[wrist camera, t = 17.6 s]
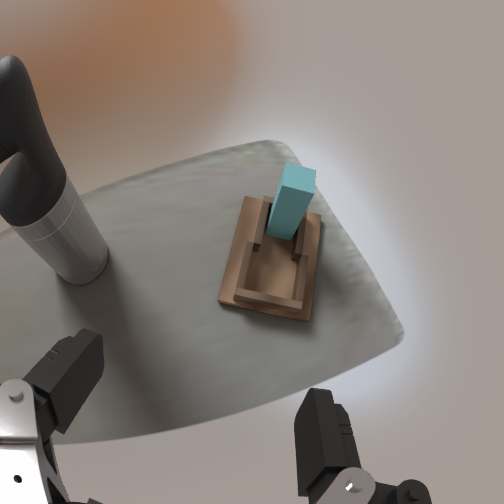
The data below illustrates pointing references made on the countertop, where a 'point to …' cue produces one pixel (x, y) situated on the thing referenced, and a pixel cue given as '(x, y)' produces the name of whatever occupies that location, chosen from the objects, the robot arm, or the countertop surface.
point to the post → (291, 201)
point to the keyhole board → (271, 264)
